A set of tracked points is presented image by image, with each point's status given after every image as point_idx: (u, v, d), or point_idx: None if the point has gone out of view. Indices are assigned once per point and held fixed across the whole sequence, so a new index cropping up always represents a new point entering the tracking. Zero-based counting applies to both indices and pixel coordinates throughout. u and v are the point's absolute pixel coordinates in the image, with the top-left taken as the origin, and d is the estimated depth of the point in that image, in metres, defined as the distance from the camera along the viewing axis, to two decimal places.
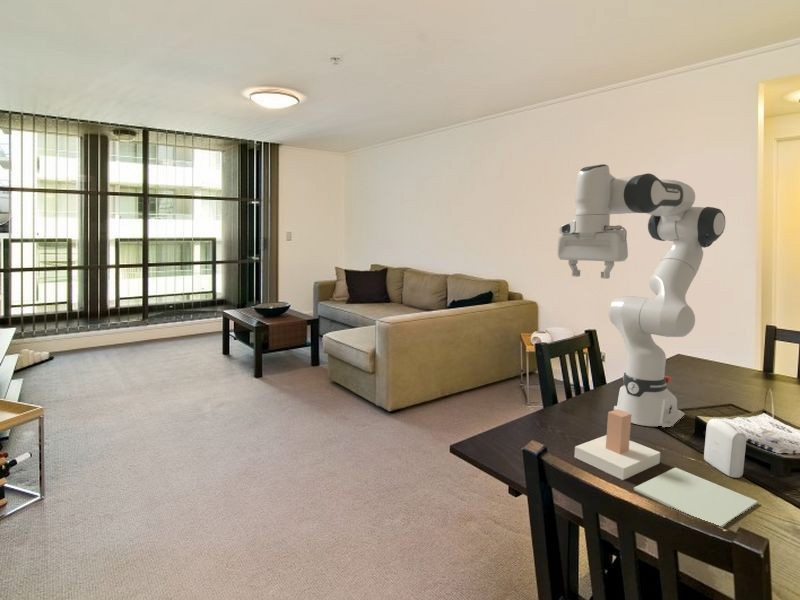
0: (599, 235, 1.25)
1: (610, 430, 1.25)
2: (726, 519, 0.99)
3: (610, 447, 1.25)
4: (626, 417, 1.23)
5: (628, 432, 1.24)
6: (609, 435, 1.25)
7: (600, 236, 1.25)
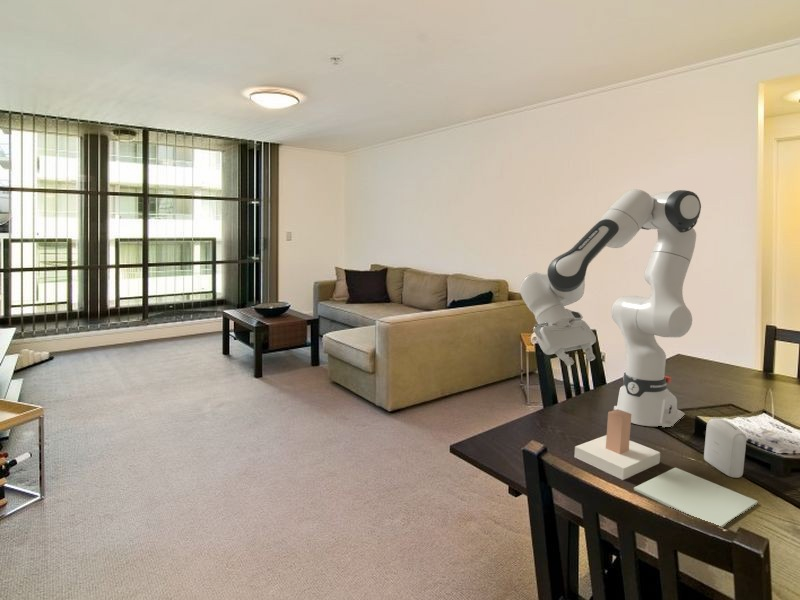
0: None
1: (610, 430, 1.25)
2: (726, 519, 0.99)
3: (610, 447, 1.25)
4: (626, 417, 1.23)
5: (628, 432, 1.24)
6: (609, 435, 1.25)
7: None
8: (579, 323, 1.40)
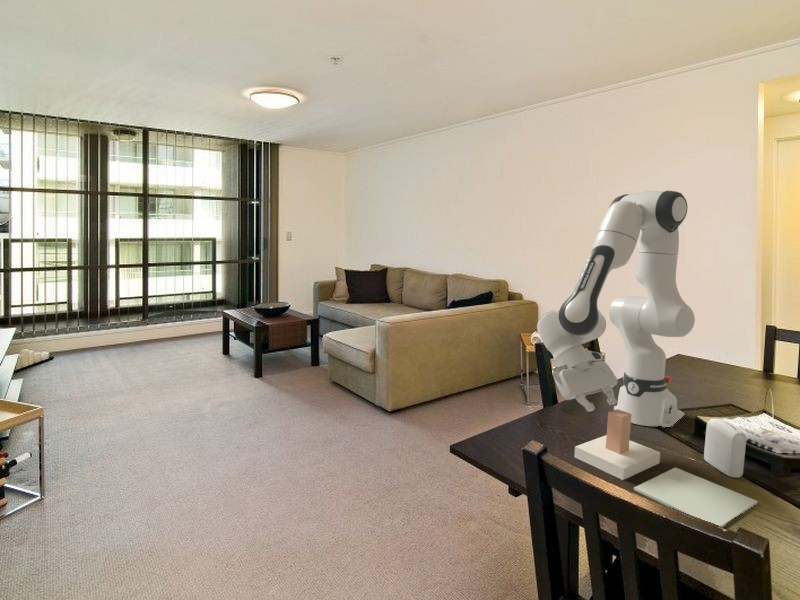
0: None
1: (610, 430, 1.25)
2: (726, 519, 0.99)
3: (610, 447, 1.25)
4: (626, 417, 1.23)
5: (628, 432, 1.24)
6: (609, 435, 1.25)
7: None
8: (599, 364, 1.35)
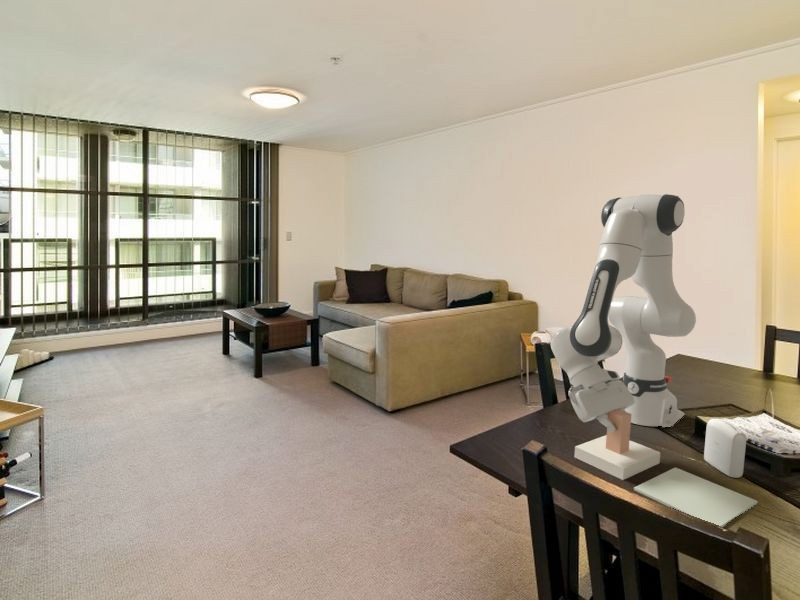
0: None
1: None
2: (726, 519, 0.99)
3: (610, 447, 1.25)
4: (626, 417, 1.23)
5: (628, 432, 1.24)
6: (609, 435, 1.25)
7: None
8: (616, 384, 1.31)
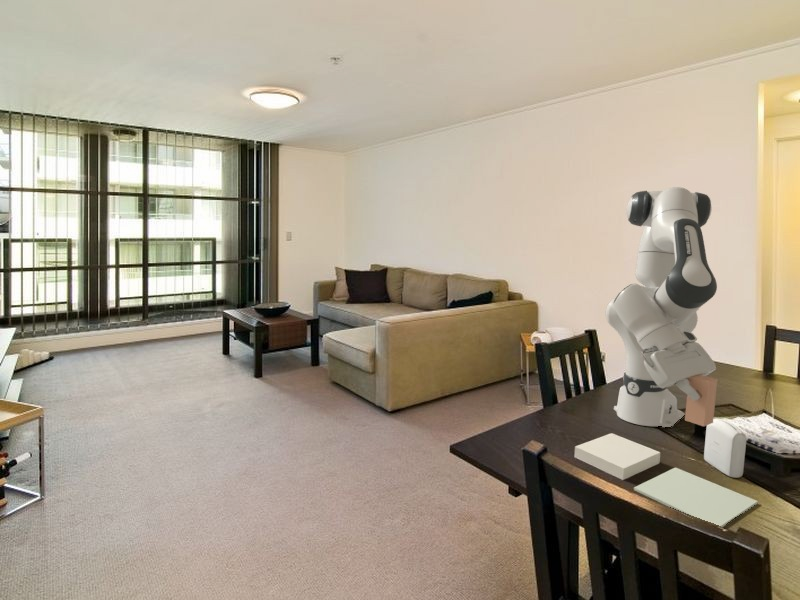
0: None
1: None
2: (726, 519, 0.99)
3: (691, 418, 1.06)
4: (712, 382, 1.04)
5: (713, 401, 1.05)
6: (690, 404, 1.06)
7: None
8: (694, 346, 1.12)
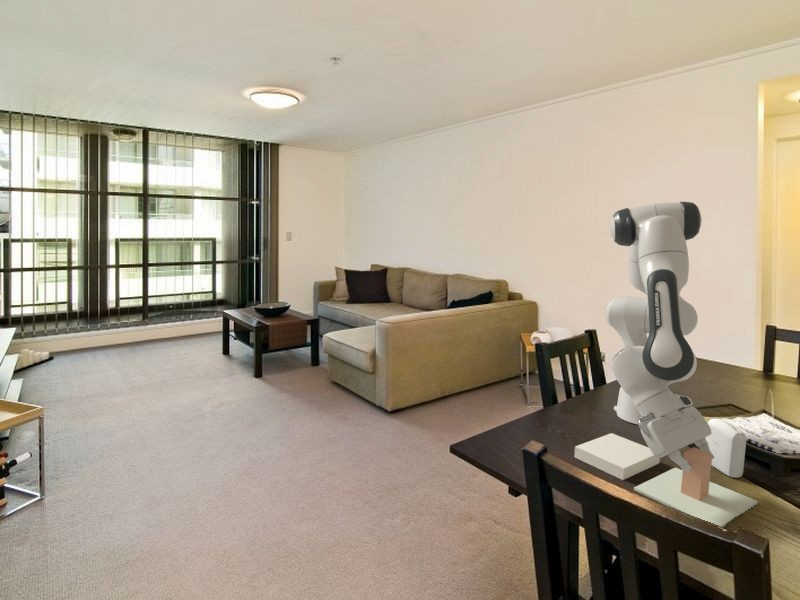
0: None
1: (687, 472, 1.08)
2: (726, 519, 0.99)
3: (687, 491, 1.08)
4: (707, 458, 1.06)
5: (708, 475, 1.07)
6: (685, 477, 1.08)
7: None
8: (690, 411, 1.14)
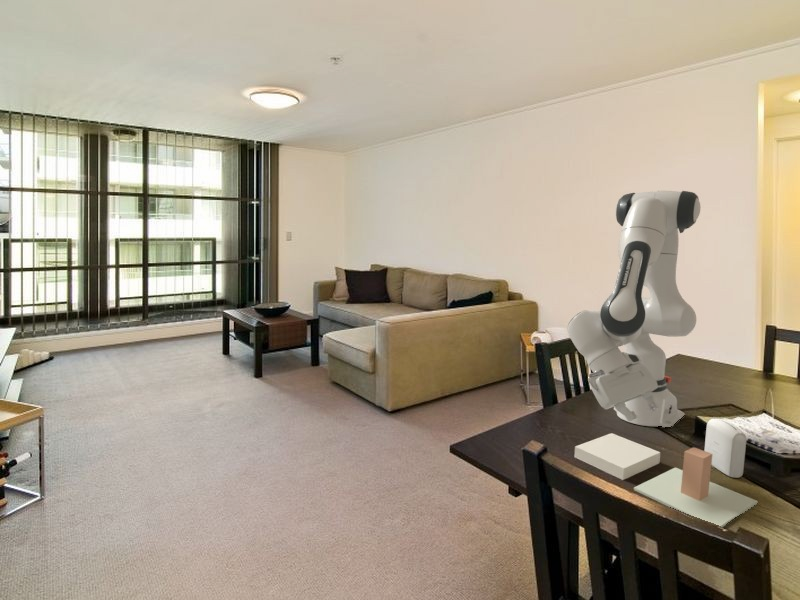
0: None
1: (687, 472, 1.08)
2: (726, 519, 0.99)
3: (687, 491, 1.08)
4: (707, 458, 1.06)
5: (708, 475, 1.07)
6: (685, 477, 1.08)
7: None
8: (638, 368, 1.25)
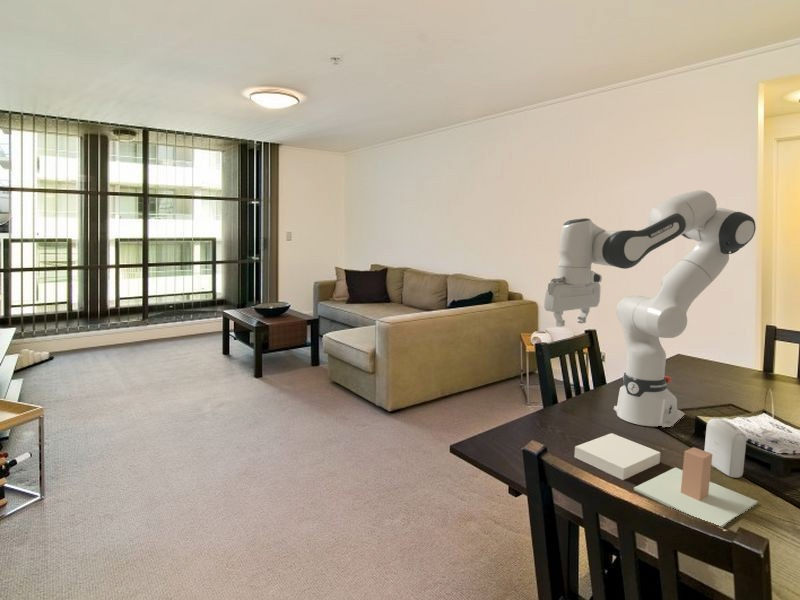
0: None
1: (687, 472, 1.08)
2: (726, 519, 0.99)
3: (687, 491, 1.08)
4: (707, 458, 1.06)
5: (708, 475, 1.07)
6: (685, 477, 1.08)
7: None
8: (593, 286, 1.37)
